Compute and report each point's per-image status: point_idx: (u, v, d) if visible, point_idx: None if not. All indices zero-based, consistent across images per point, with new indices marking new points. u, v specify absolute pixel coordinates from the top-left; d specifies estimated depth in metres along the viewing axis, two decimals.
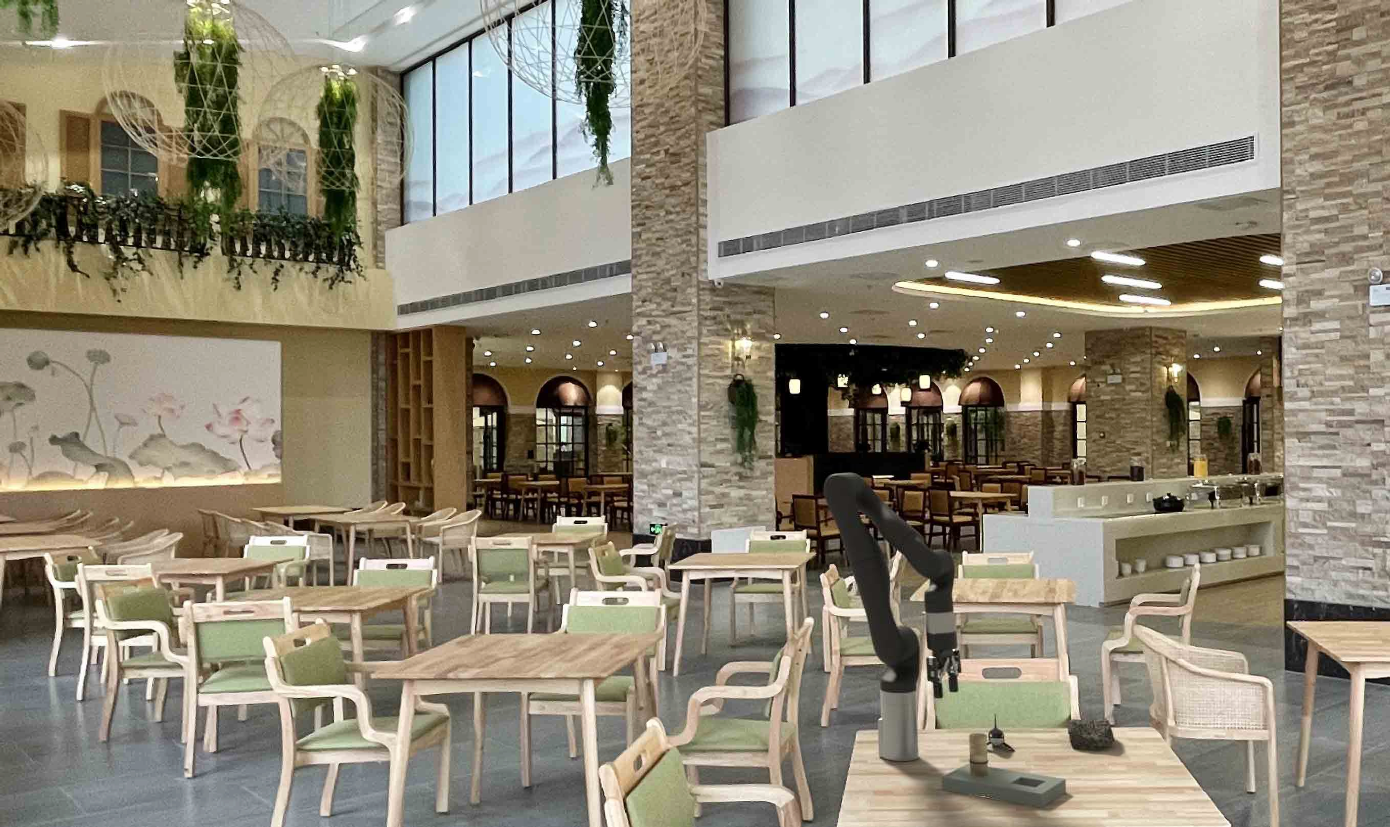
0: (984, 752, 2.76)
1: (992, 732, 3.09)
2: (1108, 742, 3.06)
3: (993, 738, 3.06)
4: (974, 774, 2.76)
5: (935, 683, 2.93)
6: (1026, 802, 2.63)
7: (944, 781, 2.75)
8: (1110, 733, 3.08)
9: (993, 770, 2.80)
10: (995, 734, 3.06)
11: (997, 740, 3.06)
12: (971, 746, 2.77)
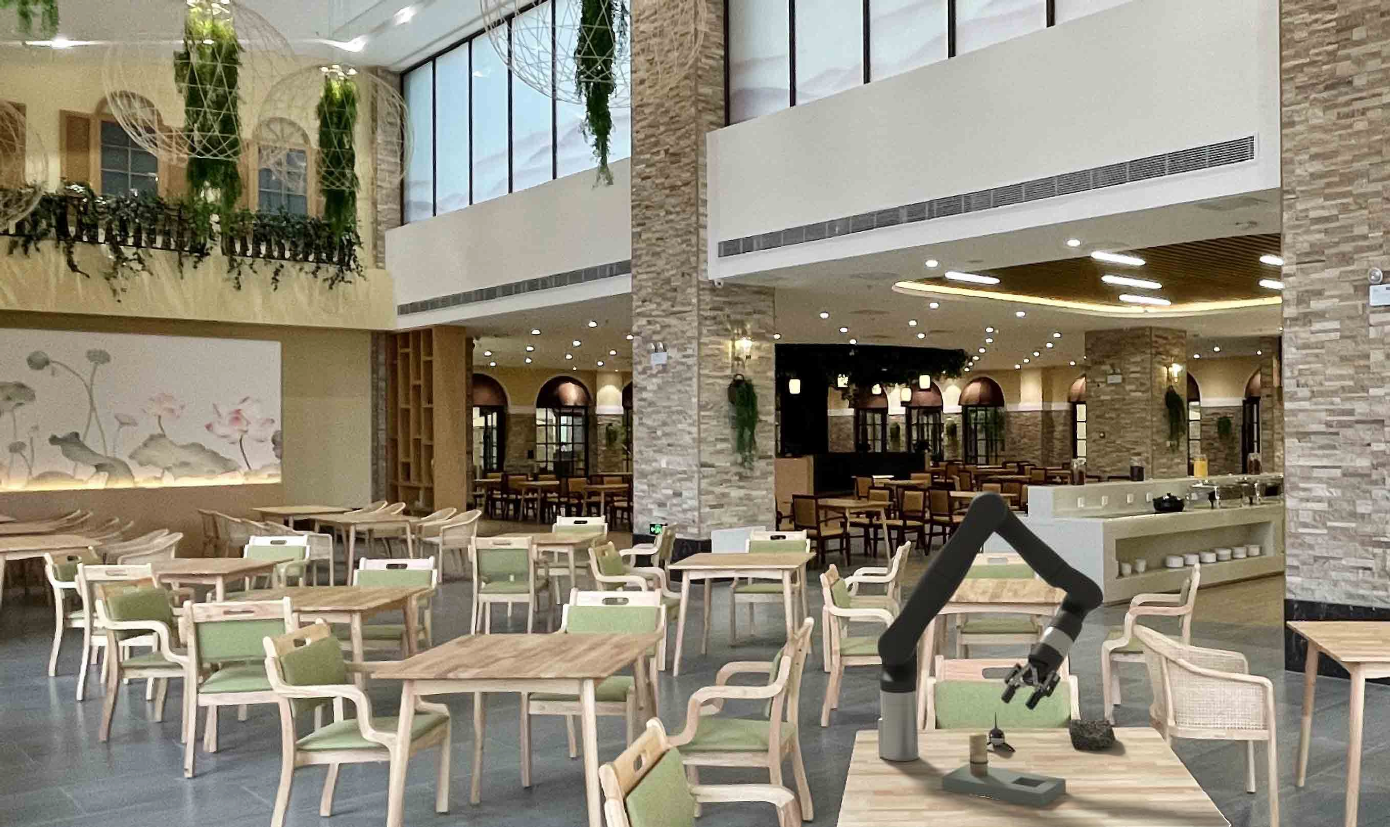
0: (984, 752, 2.76)
1: (992, 732, 3.09)
2: (1110, 742, 3.06)
3: (993, 738, 3.07)
4: (974, 774, 2.76)
5: (1040, 695, 2.79)
6: (1026, 802, 2.63)
7: (944, 781, 2.75)
8: (1111, 733, 3.08)
9: (993, 770, 2.80)
10: (995, 734, 3.07)
11: (997, 740, 3.06)
12: (971, 746, 2.77)
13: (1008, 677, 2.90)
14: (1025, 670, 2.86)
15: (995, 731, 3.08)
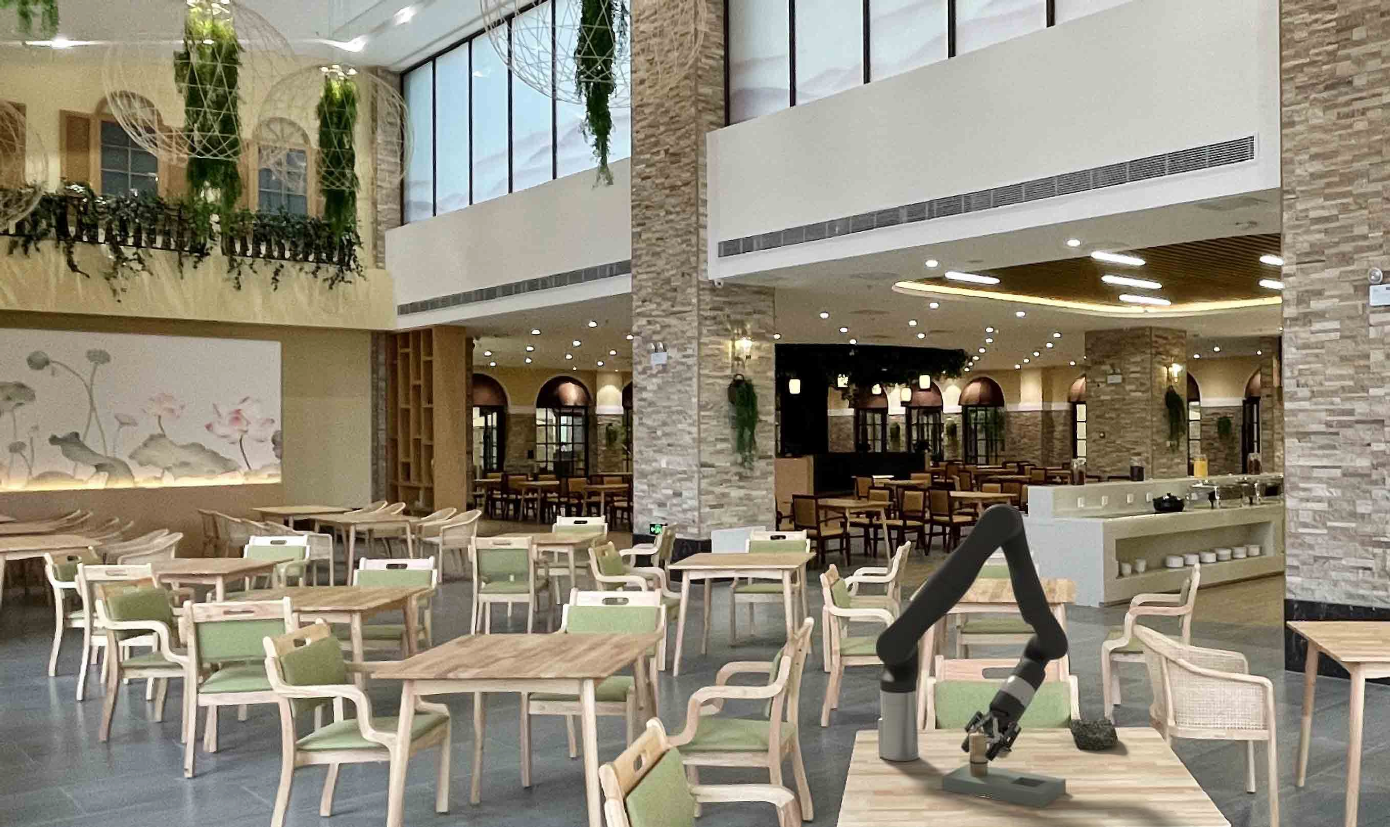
0: (984, 752, 2.76)
1: None
2: (1113, 741, 3.06)
3: (989, 737, 3.07)
4: (974, 774, 2.76)
5: (1000, 746, 2.74)
6: (1026, 802, 2.63)
7: (944, 781, 2.75)
8: (1115, 732, 3.08)
9: (993, 770, 2.80)
10: None
11: (993, 739, 3.06)
12: (971, 746, 2.77)
13: (969, 725, 2.85)
14: (986, 719, 2.81)
15: None
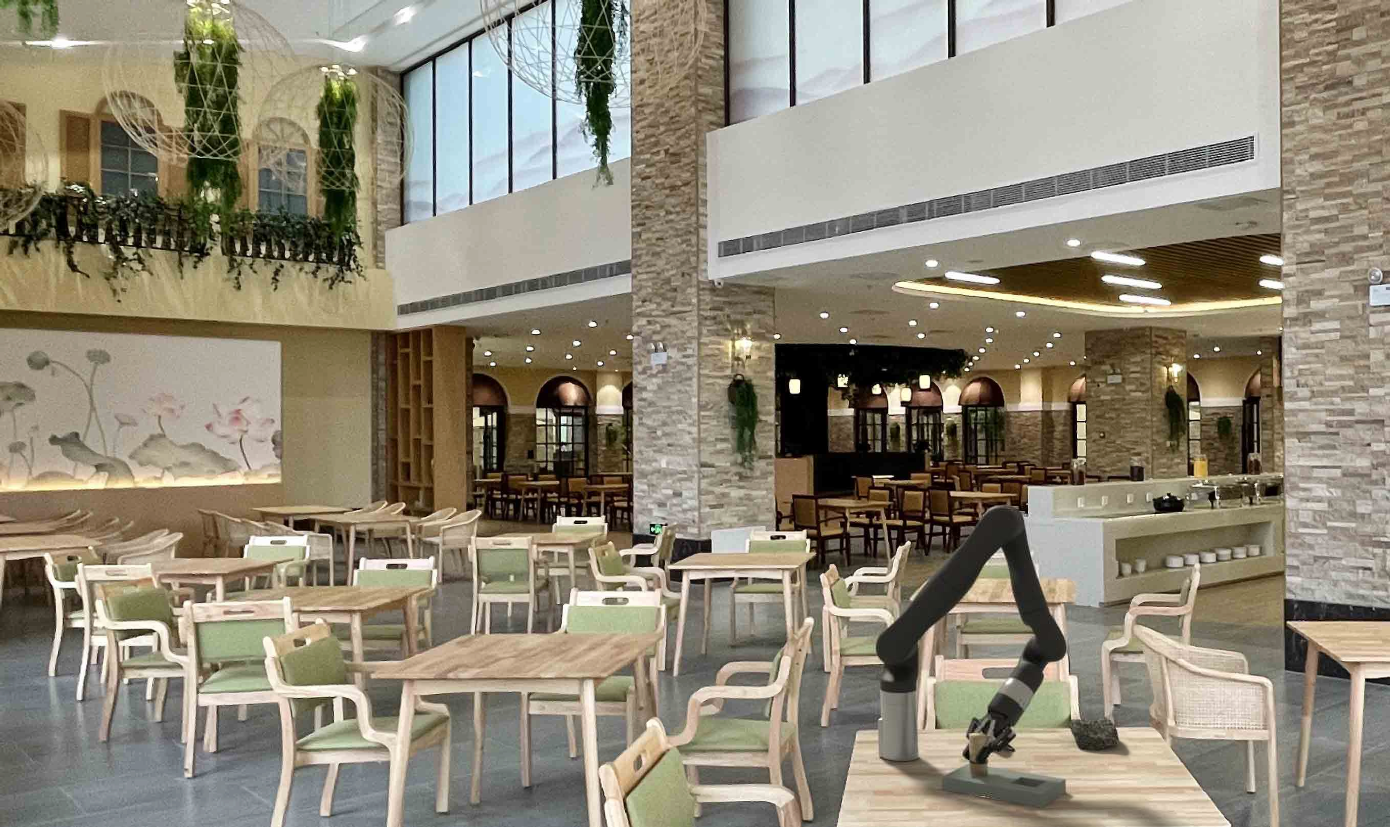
0: None
1: None
2: (1115, 741, 3.07)
3: None
4: (974, 774, 2.76)
5: (990, 750, 2.75)
6: (1026, 802, 2.63)
7: (944, 781, 2.75)
8: (1116, 732, 3.08)
9: (993, 770, 2.80)
10: None
11: None
12: (971, 746, 2.77)
13: (969, 732, 2.83)
14: (985, 721, 2.80)
15: None
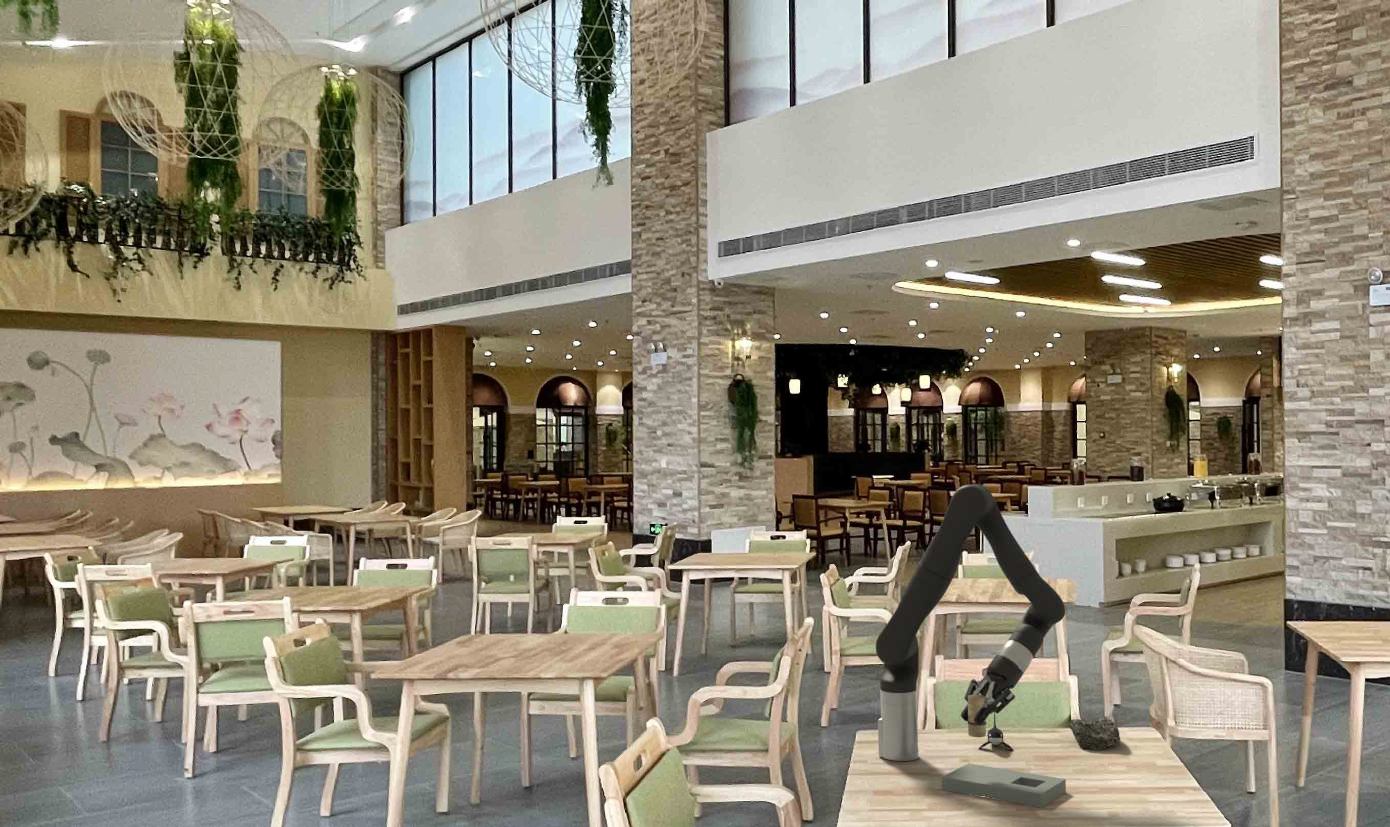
0: None
1: (991, 731, 3.09)
2: (1117, 741, 3.07)
3: (992, 737, 3.07)
4: (972, 735, 2.77)
5: (989, 711, 2.75)
6: (1026, 802, 2.63)
7: (944, 781, 2.75)
8: (1118, 732, 3.09)
9: (993, 770, 2.80)
10: (994, 733, 3.07)
11: (996, 739, 3.06)
12: (970, 707, 2.77)
13: (968, 693, 2.83)
14: (984, 683, 2.81)
15: (994, 731, 3.09)
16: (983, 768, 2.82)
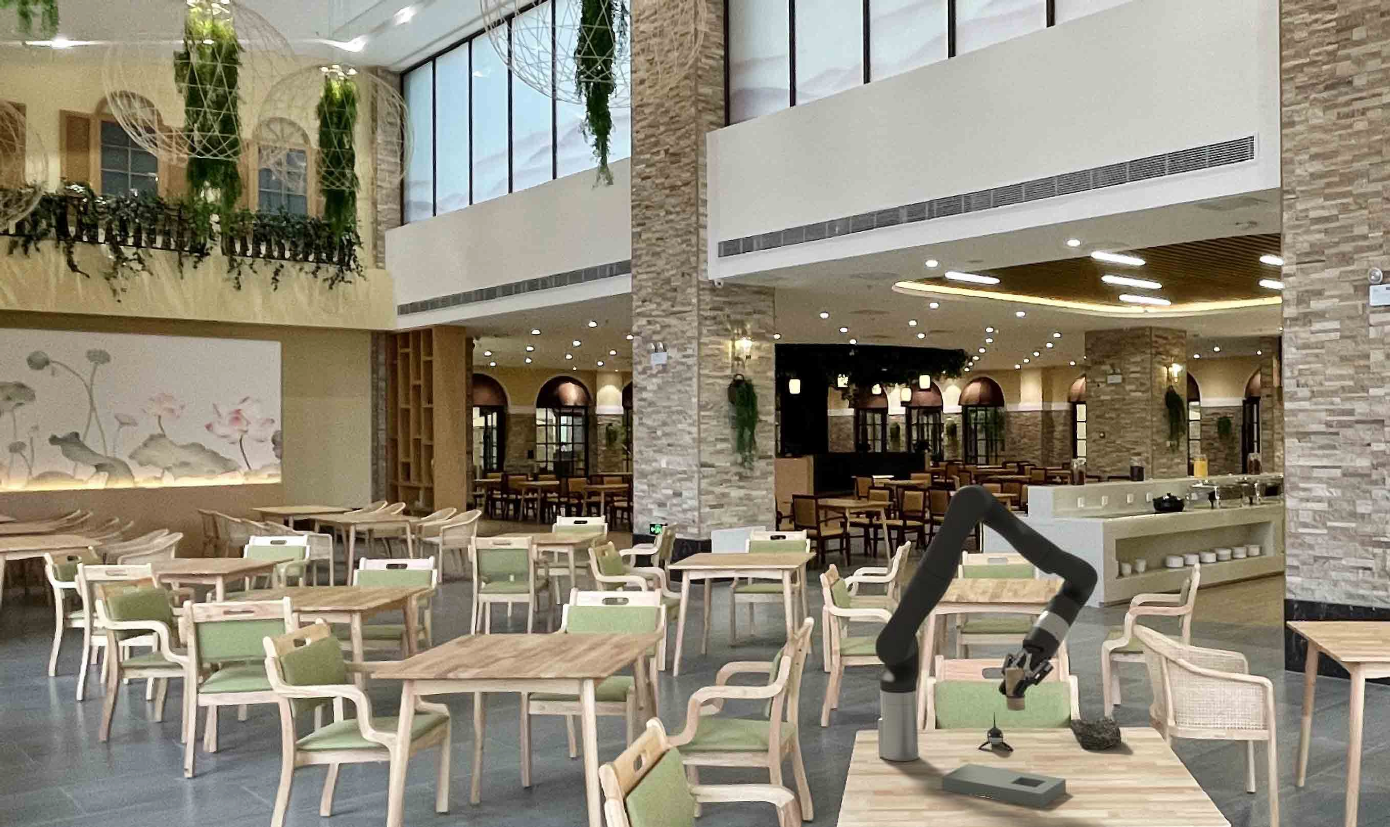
0: None
1: (990, 731, 3.09)
2: (1119, 741, 3.07)
3: (991, 737, 3.07)
4: (1011, 709, 2.71)
5: (1027, 683, 2.70)
6: (1026, 802, 2.63)
7: (944, 781, 2.75)
8: (1119, 732, 3.09)
9: (993, 770, 2.80)
10: (993, 733, 3.07)
11: (995, 739, 3.07)
12: (1007, 680, 2.72)
13: (1004, 667, 2.77)
14: (1020, 656, 2.75)
15: (993, 730, 3.09)
16: (983, 768, 2.82)
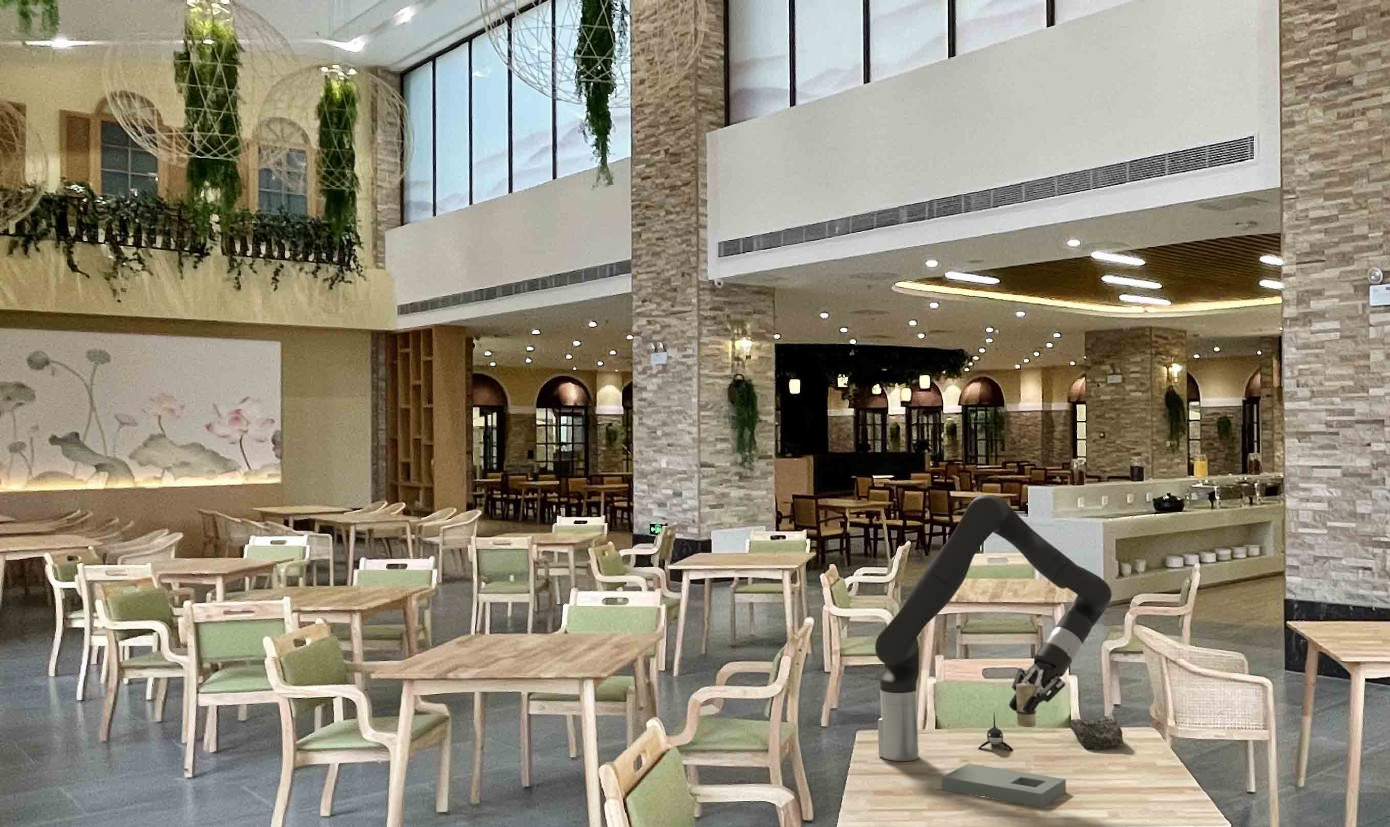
0: None
1: (990, 731, 3.10)
2: (1121, 741, 3.07)
3: (991, 737, 3.07)
4: (1022, 725, 2.69)
5: (1038, 700, 2.68)
6: (1026, 802, 2.63)
7: (944, 781, 2.75)
8: (1121, 731, 3.09)
9: (993, 770, 2.80)
10: (993, 733, 3.07)
11: (995, 739, 3.07)
12: (1018, 696, 2.70)
13: (1015, 683, 2.75)
14: (1032, 672, 2.73)
15: (993, 730, 3.09)
16: (983, 768, 2.82)
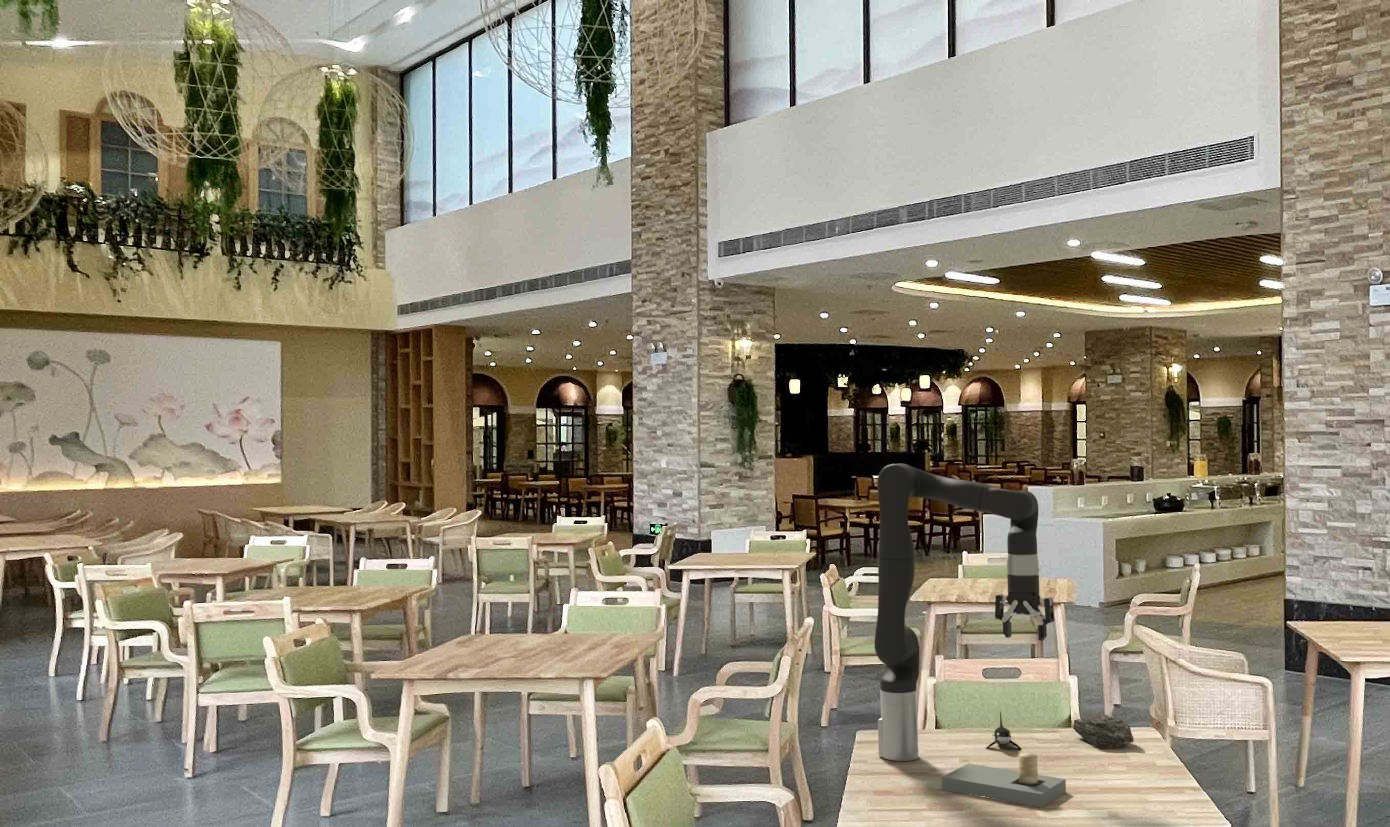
0: (1034, 773, 2.68)
1: (999, 731, 3.10)
2: (1132, 739, 3.09)
3: (1000, 736, 3.08)
4: None
5: (1045, 624, 2.87)
6: (1026, 802, 2.63)
7: (944, 781, 2.75)
8: (1130, 729, 3.11)
9: (993, 770, 2.80)
10: (1002, 732, 3.08)
11: (1005, 738, 3.07)
12: (1021, 767, 2.69)
13: (997, 613, 2.94)
14: (1015, 604, 2.90)
15: (1002, 730, 3.10)
16: (983, 768, 2.82)
